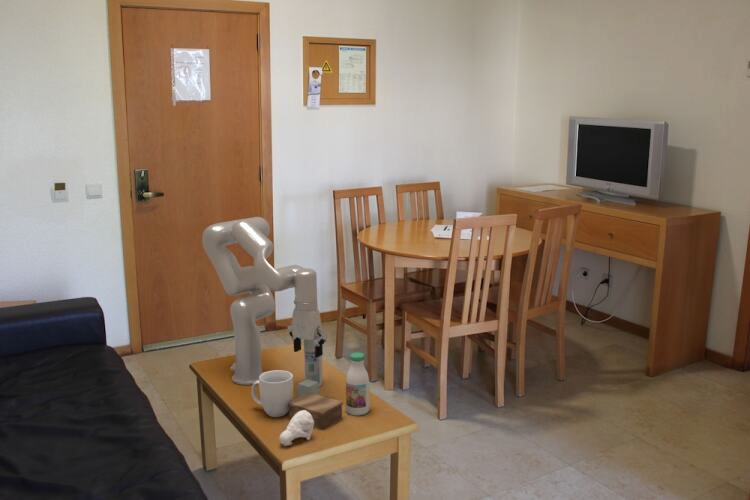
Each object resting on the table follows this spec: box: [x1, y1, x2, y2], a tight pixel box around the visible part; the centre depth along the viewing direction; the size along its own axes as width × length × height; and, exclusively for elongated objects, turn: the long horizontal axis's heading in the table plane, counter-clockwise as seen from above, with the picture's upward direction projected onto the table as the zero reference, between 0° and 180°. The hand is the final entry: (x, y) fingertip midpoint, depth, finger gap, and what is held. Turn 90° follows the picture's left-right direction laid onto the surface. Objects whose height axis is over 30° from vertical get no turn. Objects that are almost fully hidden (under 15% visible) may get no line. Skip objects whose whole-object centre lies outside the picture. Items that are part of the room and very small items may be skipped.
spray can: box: [303, 335, 323, 387], centre depth 263 cm, size 6×6×20 cm
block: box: [297, 379, 320, 398], centre depth 252 cm, size 5×5×6 cm
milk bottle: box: [345, 352, 370, 416], centre depth 240 cm, size 8×8×20 cm
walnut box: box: [288, 392, 343, 431], centre depth 236 cm, size 14×10×6 cm
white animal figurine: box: [278, 410, 314, 447], centre depth 221 cm, size 6×8×12 cm
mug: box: [250, 369, 294, 418], centre depth 241 cm, size 15×11×13 cm
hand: (308, 353), depth 249 cm, fingers open, 9 cm apart
